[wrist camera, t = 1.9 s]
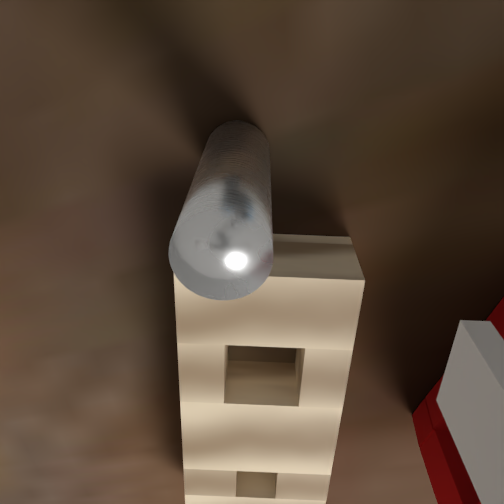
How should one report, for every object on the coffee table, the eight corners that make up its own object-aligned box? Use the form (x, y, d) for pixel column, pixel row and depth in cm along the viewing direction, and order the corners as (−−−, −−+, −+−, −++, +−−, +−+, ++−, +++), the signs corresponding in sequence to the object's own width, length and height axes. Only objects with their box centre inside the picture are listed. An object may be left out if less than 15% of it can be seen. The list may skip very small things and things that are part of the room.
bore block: (186, 230, 29) (173, 272, 25) (349, 237, 29) (365, 280, 25) (195, 481, 41) (187, 540, 36) (312, 486, 41) (317, 546, 36)
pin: (205, 119, 26) (165, 206, 16) (271, 121, 26) (276, 211, 15) (206, 181, 28) (170, 298, 17) (267, 184, 28) (270, 302, 17)
